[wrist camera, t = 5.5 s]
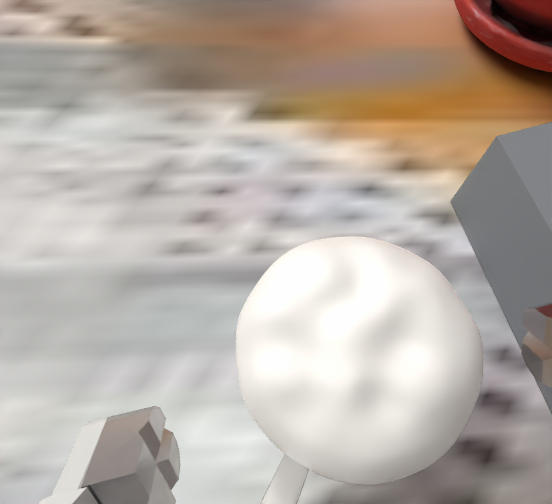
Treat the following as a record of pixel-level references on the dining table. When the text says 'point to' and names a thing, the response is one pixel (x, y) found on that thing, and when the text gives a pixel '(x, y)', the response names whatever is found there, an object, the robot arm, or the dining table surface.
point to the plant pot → (513, 28)
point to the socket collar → (513, 222)
